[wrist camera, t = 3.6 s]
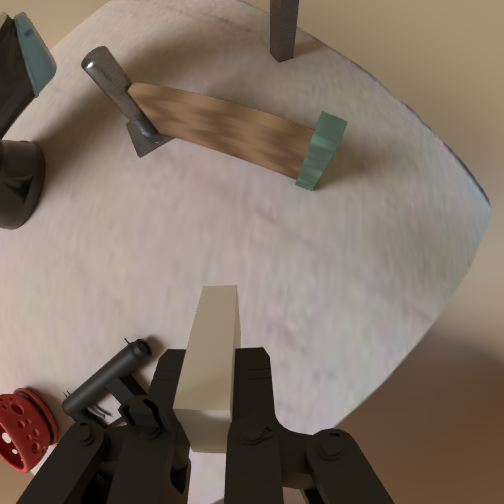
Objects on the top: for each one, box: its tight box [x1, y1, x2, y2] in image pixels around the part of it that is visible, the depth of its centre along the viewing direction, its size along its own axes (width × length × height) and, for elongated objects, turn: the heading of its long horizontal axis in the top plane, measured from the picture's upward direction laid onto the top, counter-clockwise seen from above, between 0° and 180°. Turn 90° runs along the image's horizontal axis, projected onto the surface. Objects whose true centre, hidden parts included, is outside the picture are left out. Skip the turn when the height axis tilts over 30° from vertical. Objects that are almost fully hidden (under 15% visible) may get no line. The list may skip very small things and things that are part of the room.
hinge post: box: [81, 46, 174, 157], centre depth 25 cm, size 6×6×16 cm
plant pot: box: [0, 388, 58, 473], centre depth 25 cm, size 13×13×12 cm
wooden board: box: [127, 82, 347, 191], centre depth 25 cm, size 20×2×13 cm, turn 67°
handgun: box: [62, 338, 152, 428], centre depth 30 cm, size 3×20×16 cm
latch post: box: [270, 0, 299, 62], centre depth 25 cm, size 2×2×16 cm
